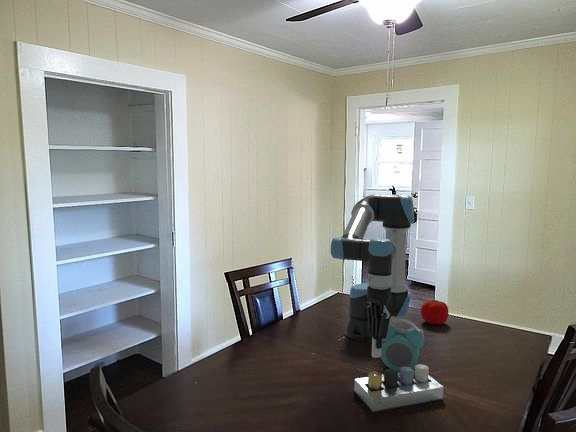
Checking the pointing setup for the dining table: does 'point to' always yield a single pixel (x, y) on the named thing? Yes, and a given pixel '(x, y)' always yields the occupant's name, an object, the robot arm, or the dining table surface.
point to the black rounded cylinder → (390, 378)
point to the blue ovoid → (406, 376)
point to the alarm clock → (401, 346)
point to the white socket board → (398, 394)
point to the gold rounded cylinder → (374, 381)
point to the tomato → (434, 312)
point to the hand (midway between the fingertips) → (376, 356)
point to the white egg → (421, 373)
